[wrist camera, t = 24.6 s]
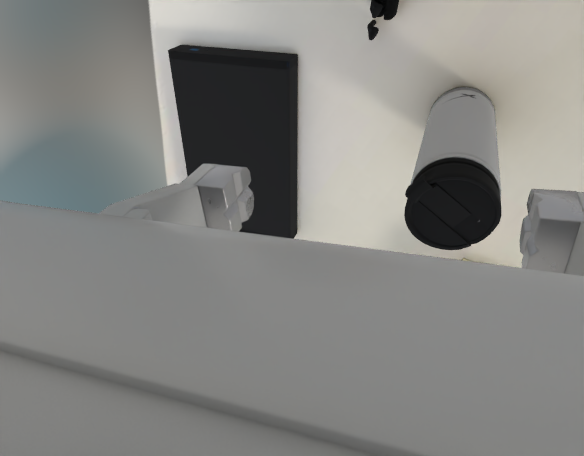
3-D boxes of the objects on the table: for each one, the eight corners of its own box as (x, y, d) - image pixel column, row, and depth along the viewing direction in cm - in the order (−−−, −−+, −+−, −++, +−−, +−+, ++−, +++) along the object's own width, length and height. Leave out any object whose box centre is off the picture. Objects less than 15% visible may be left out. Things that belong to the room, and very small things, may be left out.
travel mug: (460, 70, 43) (449, 155, 27) (509, 115, 43) (525, 223, 28) (413, 116, 46) (380, 214, 31) (459, 157, 47) (448, 272, 32)
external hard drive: (204, 213, 64) (194, 224, 62) (181, 44, 51) (166, 49, 48) (297, 231, 60) (290, 244, 58) (298, 53, 47) (288, 60, 45)
